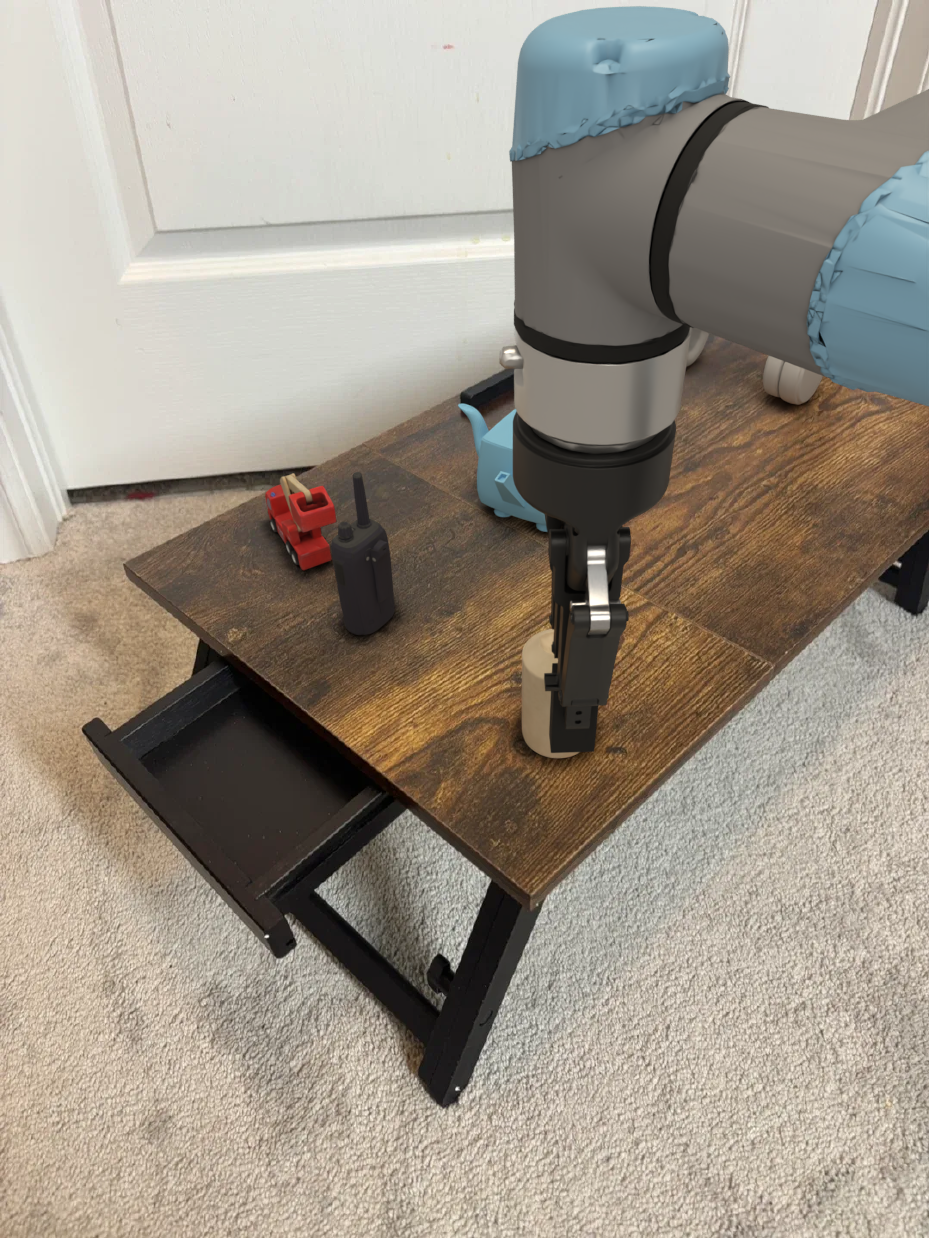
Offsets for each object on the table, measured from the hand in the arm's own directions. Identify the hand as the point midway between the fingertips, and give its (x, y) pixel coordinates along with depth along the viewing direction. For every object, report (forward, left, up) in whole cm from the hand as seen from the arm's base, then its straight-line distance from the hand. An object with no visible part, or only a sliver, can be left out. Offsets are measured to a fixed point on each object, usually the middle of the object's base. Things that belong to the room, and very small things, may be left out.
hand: (571, 742), depth 59 cm
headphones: (+33, -61, -11) cm, 71 cm away
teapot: (+30, -25, -11) cm, 41 cm away
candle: (+7, -6, -11) cm, 15 cm away
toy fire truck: (+40, -4, -11) cm, 42 cm away
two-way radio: (+27, -3, -11) cm, 30 cm away
